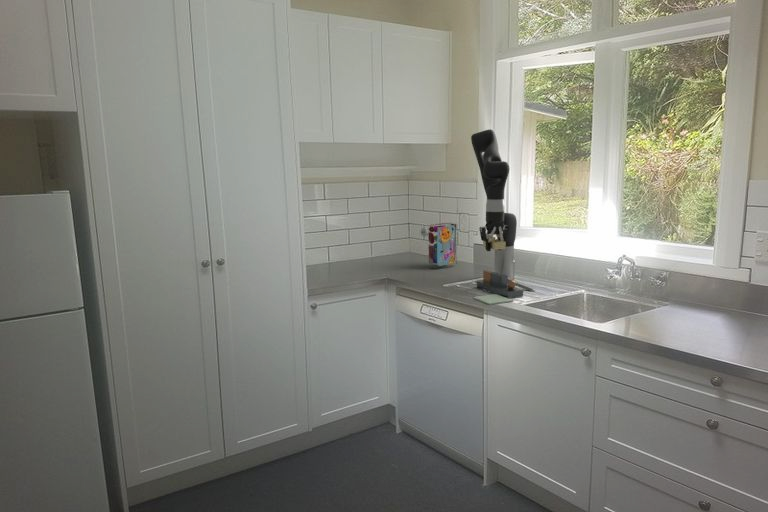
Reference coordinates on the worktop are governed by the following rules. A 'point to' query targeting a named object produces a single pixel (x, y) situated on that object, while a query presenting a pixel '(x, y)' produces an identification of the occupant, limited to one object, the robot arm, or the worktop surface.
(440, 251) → the box
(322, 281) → the worktop surface
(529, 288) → the caliper
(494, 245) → the lever cap
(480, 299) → the mat
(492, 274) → the hand plane
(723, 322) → the worktop surface
